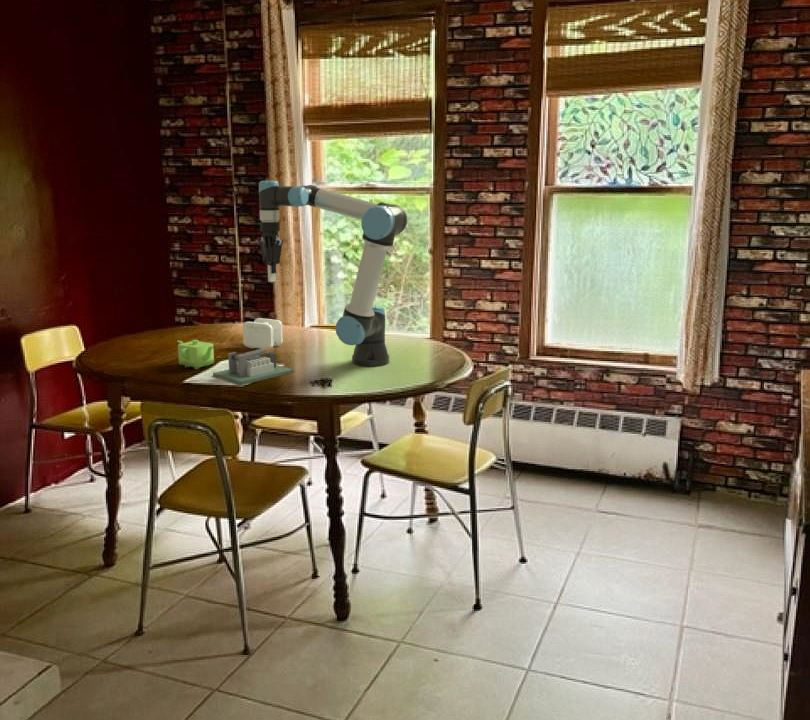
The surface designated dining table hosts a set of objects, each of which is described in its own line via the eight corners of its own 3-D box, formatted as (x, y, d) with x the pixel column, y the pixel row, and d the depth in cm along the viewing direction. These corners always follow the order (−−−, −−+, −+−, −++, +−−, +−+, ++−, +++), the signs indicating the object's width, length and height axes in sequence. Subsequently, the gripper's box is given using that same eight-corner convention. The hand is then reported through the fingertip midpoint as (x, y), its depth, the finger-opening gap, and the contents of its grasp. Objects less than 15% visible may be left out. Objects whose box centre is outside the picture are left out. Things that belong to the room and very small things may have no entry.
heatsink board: (293, 372, 302) (292, 349, 299) (241, 384, 284) (240, 360, 282) (264, 364, 313) (263, 342, 311) (213, 375, 296) (211, 352, 294)
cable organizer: (284, 346, 345) (284, 320, 342) (270, 351, 336) (269, 324, 333) (257, 343, 351) (256, 317, 348) (242, 347, 342) (241, 321, 339)
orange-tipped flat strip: (275, 351, 302) (275, 347, 301) (239, 362, 290) (239, 357, 290) (267, 350, 305) (267, 345, 305) (231, 360, 293) (231, 355, 293)
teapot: (215, 369, 305) (214, 343, 303) (180, 372, 301) (178, 345, 299) (212, 360, 319) (211, 335, 317) (178, 363, 315) (176, 337, 313)
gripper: (288, 221, 305) (290, 282, 310) (267, 219, 313) (269, 278, 319) (272, 222, 299) (274, 284, 305) (251, 220, 308) (254, 280, 313)
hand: (272, 281), depth 312 cm, fingers closed
